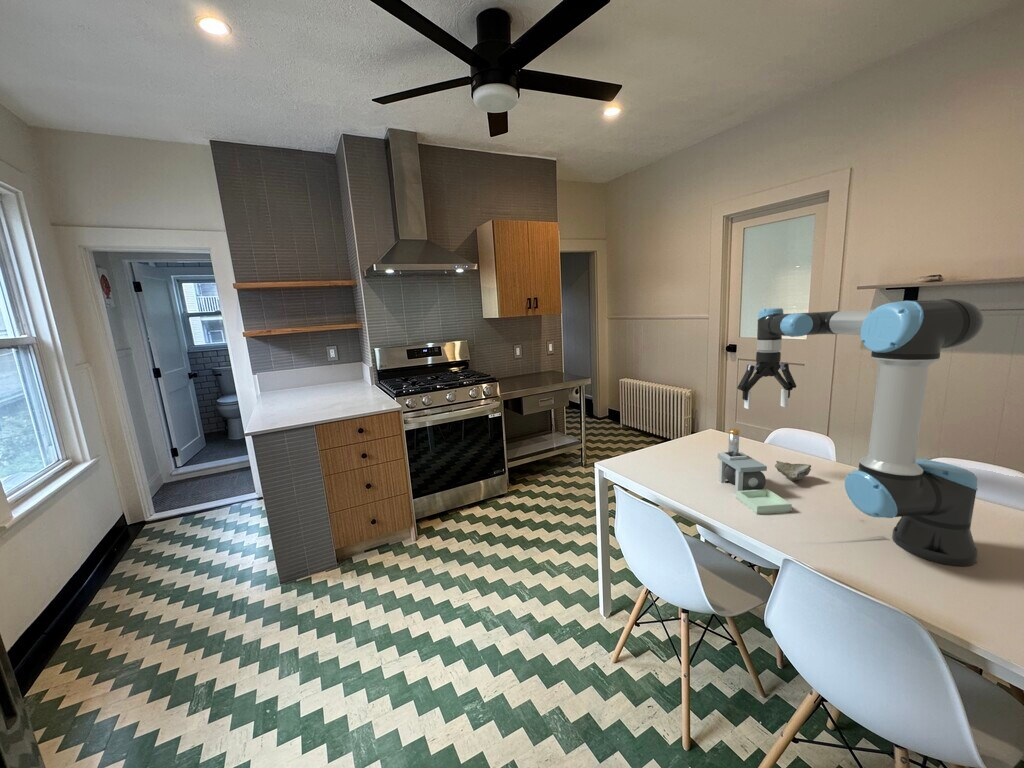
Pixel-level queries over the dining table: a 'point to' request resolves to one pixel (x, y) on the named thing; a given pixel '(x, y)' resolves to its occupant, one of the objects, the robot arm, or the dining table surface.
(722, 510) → the dining table surface
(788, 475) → the rock
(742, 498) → the tray
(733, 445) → the pin
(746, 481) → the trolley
